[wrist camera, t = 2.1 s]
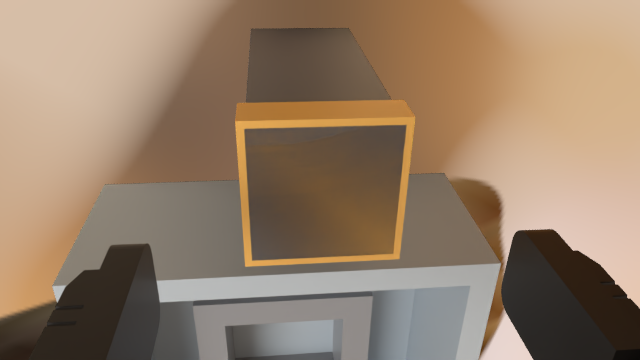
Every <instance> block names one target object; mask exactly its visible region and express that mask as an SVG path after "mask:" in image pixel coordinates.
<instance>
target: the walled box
mask: <svg viewBox="0 0 640 360" xmlns="http://www.w3.org/2000/svg"><path fill="white" fill-rule="evenodd" d="M146 243H148V244H149V245H150V247H151V251H152V257H153V263H154V269H155V275H156V281H157V287H158V293H159V300H160V322H159V329H158V333H157V337H156V342H155V346H154V350H153V354H152V358H151V360H478V359H479V355H480V351H481V347H482V342H483V338H484V334H485V330H486V325H487V321H488V317H489V313H490V308H491V304H492V300H493V295H494V291H495V287H496V283H497V278H498V274H499V270H500V266H501V263H500V261H499V259H498V258H497V256H496V255H495V253H494V251H493V250H492V248H491V247H490V245H489V244H488V242H487V240H486V239H485V237H484V236H483V234H482V232H481V231H480V229H479V228H478V226H477V224H476V223H475V221H474V220H473V218H472V217H471V215H470V213H469V212H468V210H467V209H466V207H465V205H464V204H463V202H462V201H461V199H460V197H459V196H458V194H457V193H456V191H455V190H454V188H453V186H452V185H451V183H450V182H449V180H448V178H447V177H446V175H445V174H444V173H431V174H409V179H408V188H407V196H406V205H405V214H404V223H403V232H402V240H401V249H400V258H399V259H394V260H373V261H353V262H332V263H312V264H291V265H271V266H250V267H245V257H244V242H243V228H242V213H241V198H240V184H239V180H223V181H196V182H195V181H193V182H163V183H134V184H105V185H104V187H103V189H102V191H101V193H100V195H99V197H98V199H97V201H96V202H95V205H94V206H93V208H92V210H91V212H90V214H89V216H88V218H87V220H86V222H85V224H84V226H83V227H82V229H81V231H80V233H79V235H78V237H77V239H76V241H75V243H74V245H73V247H72V249H71V251H70V253H69V255H68V257H67V259H66V261H65V262H64V264H63V266H62V268H61V270H60V272H59V274H58V276H57V278H56V280H55V282H54V284H53V285H52V286H53V290H54V294H55V297H56V300H57V302H58V300H59V298H60V296H61V295H62V293H63V291H64V289H65V287H66V286H67V285H68V284H69V283H70V282H71V281H73V280H74V279H75V278H76V277H77V276H78V275H79V274H80V273H81V272H83V271H84V270H96V269H100V267H101V265H102V262H103V260H104V258H105V256H106V253H107V251H108V249H109V247H110V246H111V245H119V244H146Z"/></svg>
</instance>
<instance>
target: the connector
mask: <svg viewBox="0 0 640 360" xmlns="http://www.w3.org/2000/svg"><path fill="white" fill-rule="evenodd" d="M249 52H250V53H249V65H248V81H247V94H246V103H237V109H236V119H235V125H236V139H237V155H238V169H239V184H240V198H241V213H242V228H243V242H244V257H245V267H250V266H271V265H291V264H312V263H332V262H353V261H373V260H394V259H399V258H400V249H401V240H402V232H403V223H404V214H405V205H406V196H407V188H408V179H409V170H410V161H411V152H412V143H413V135H414V126H415V116H414V114H413V112H412V111H411V109H410V108H409V106H408V105H407V103H406V102H405V101H404V100H392V99H391V98H390V96H389V94H388V93H387V91H386V89H385V88H384V86H383V84H382V83H381V81H380V80H379V78H378V76H377V75H376V73H375V71H374V70H373V68H372V66H371V65H370V63H369V61H368V60H367V58H366V56H365V55H364V53H363V51H362V50H361V48H360V46H359V45H358V43H357V41H356V40H355V38H354V36H353V35H352V33H351V31H350V30H349V28H293V29H292V28H291V29H290V28H288V29H251V38H250V51H249Z"/></svg>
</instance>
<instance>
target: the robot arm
mask: <svg viewBox="0 0 640 360" xmlns="http://www.w3.org/2000/svg"><path fill="white" fill-rule="evenodd" d="M501 293H502V301H503V305H504V308H505V311H506V313H507V315H508V316H509V318H510V320H511V322H512V323H513V325H514V327H515V329H516V330H517V332H518V334H519V335H520V337H521V339H522V341H523V342H524V344H525V346H526V348H527V349H528V351H529V353H530V354H531V356H532V358H533V359H534V360H640V309H639V307H638V306H637V305H636V304H635V303H634V302H633V301H632V300H631V299H628V298H627V294H626V293H625V292H624V291H623V290H622V289H621V288H620V286H618V285H615V281H614V280H613V279H612V278H611V277H610V275H608V273H607V272H606V271H605V270H604V269H603V268H602V267H601V265H600V264H598V263H596V262H595V261H593V260H592V259H590V258H589V257H587V256H585V255H584V254H582V253H581V252H579V251H573V250H572V249H571V248H570V247H569V246H568V245H567V244H566V243H565V241H564V240H563V239H562V238H561V237H560V235H559V234H558V233H557V232H556V231H554V230H550V229H547V230H521V231H517V232H516V233H515V235H514V237H513V240H512V244H511V248H510V253H509V256H508V261H507V265H506V269H505V273H504V278H503V282H502V289H501ZM55 307H56V309H55V310H53V312H52V314H51V316H50V318H49V320H48V322H47V327H45V328H44V330H43V332H42V334H41V336H40V338H39V340H38V342H37V344H36V346H35V348H34V350H33V352H32V354H31V356H30V358H29V360H151V358H152V354H153V350H154V346H155V342H156V337H157V333H158V329H159V322H160V300H159V293H158V287H157V281H156V275H155V269H154V263H153V257H152V251H151V247H150V245H149V244H148V243H146V244H119V245H111V246H110V247H109V249H108V251H107V253H106V256H105V258H104V260H103V262H102V265H101V267H100V269H96V270H84V271H83V272H81V273H80V274H79V275H78V276H77V277H76V278H75V279H74V280H73V281H71V282H70V283H69V284H68V285H67V286H66V287H65V289H64V291H63V293H62V295H61V296H60V298H59V300H58V302H57V304H56V306H55Z"/></svg>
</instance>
